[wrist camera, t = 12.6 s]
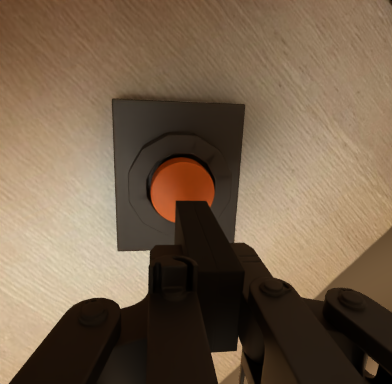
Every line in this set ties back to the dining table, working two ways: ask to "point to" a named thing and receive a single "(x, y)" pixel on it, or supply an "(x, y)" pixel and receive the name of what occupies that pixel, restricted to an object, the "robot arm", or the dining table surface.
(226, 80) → the dining table surface
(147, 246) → the button block
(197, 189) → the button
